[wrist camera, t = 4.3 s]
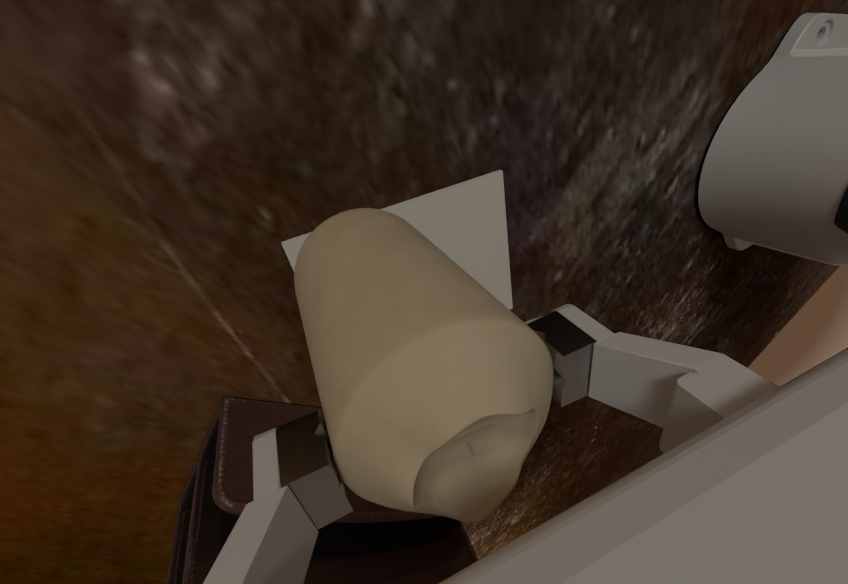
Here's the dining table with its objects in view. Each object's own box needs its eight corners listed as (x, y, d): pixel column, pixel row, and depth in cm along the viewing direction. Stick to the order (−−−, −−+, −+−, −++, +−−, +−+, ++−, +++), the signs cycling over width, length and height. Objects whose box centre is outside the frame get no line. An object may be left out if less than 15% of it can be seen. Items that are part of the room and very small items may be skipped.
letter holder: (406, 495, 38) (473, 678, 27) (177, 497, 27) (126, 799, 16) (456, 420, 35) (553, 589, 24) (222, 391, 25) (197, 665, 13)
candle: (424, 316, 18) (571, 510, 10) (303, 341, 16) (360, 605, 8) (426, 199, 15) (628, 332, 7) (281, 213, 13) (334, 413, 5)
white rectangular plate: (500, 169, 24) (503, 171, 24) (510, 306, 30) (513, 309, 30) (281, 242, 21) (281, 244, 21) (341, 376, 27) (343, 380, 27)
